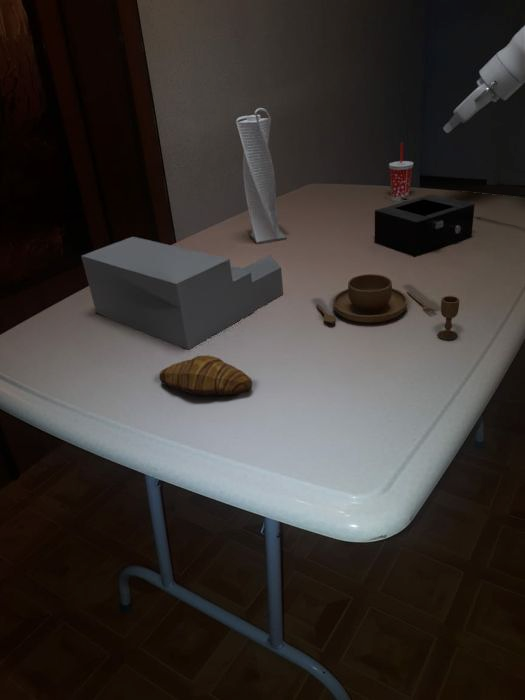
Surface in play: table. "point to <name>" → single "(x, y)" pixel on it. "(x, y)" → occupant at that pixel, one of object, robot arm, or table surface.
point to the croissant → (206, 377)
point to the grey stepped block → (177, 289)
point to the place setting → (383, 303)
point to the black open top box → (423, 224)
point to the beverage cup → (400, 178)
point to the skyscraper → (259, 178)
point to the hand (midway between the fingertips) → (449, 127)
